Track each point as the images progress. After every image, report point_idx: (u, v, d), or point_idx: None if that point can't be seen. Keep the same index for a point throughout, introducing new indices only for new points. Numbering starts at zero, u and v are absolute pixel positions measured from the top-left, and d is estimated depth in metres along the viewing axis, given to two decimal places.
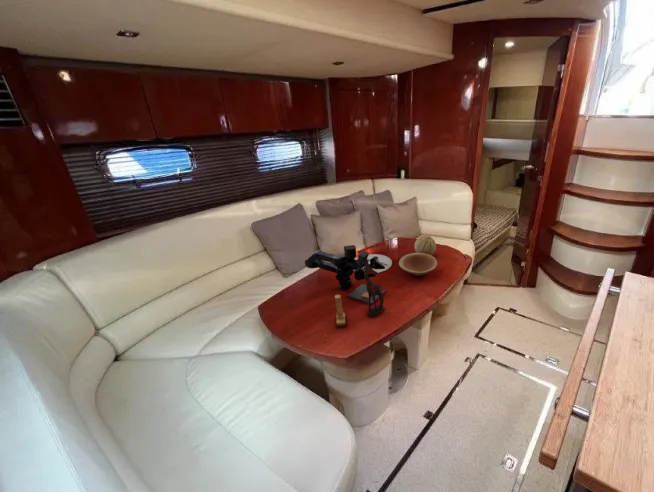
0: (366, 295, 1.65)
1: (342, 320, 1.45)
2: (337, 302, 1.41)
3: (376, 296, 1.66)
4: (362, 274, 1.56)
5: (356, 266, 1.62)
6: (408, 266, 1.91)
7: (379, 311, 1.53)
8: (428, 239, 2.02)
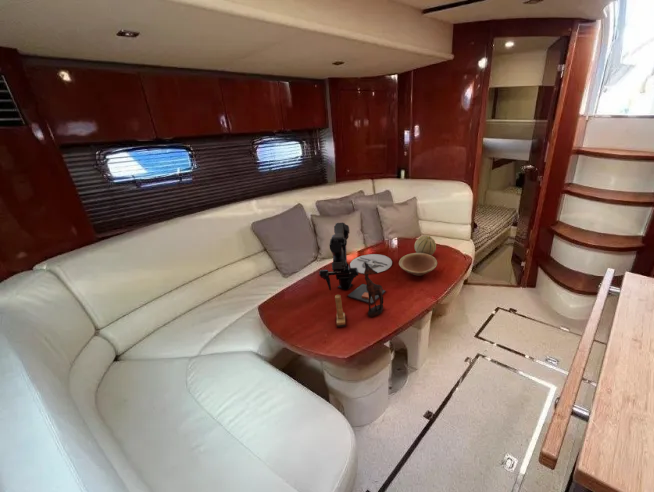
0: (366, 295, 1.65)
1: (342, 320, 1.45)
2: (337, 302, 1.41)
3: (376, 296, 1.66)
4: (325, 277, 1.50)
5: None
6: (408, 266, 1.91)
7: (379, 311, 1.53)
8: (428, 239, 2.02)
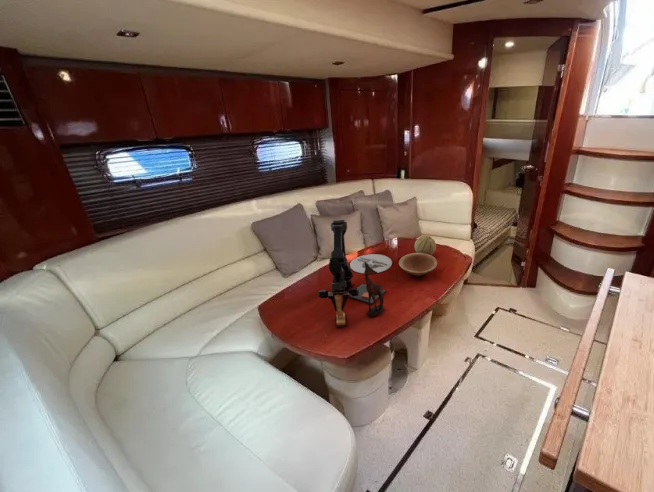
0: (366, 295, 1.65)
1: (342, 320, 1.45)
2: (337, 302, 1.41)
3: (376, 296, 1.66)
4: None
5: None
6: (408, 266, 1.91)
7: (379, 311, 1.53)
8: (428, 239, 2.02)
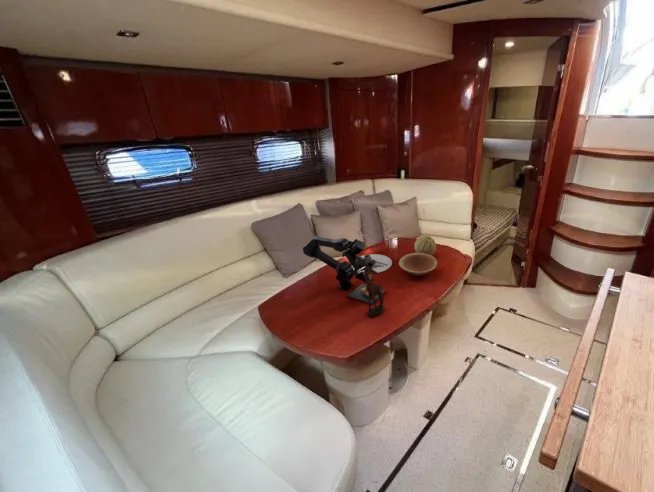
0: None
1: None
2: (370, 274, 1.61)
3: (376, 296, 1.66)
4: (358, 275, 1.61)
5: (353, 263, 1.62)
6: (408, 266, 1.91)
7: (379, 311, 1.53)
8: (428, 239, 2.02)
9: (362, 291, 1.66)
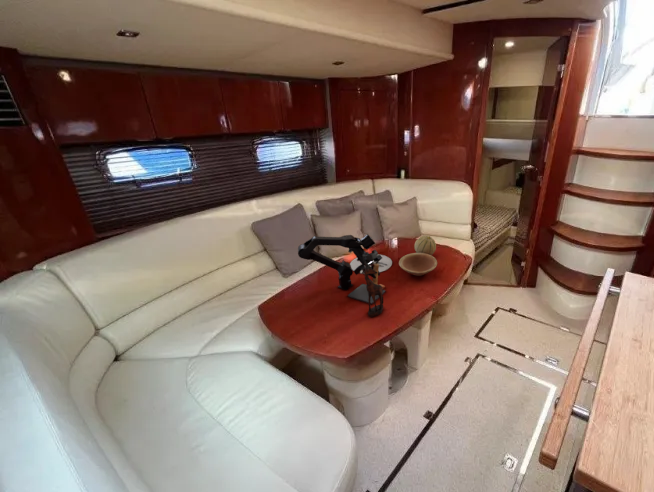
0: None
1: None
2: (376, 269, 1.66)
3: (376, 296, 1.66)
4: None
5: (360, 258, 1.67)
6: (408, 266, 1.91)
7: (379, 311, 1.53)
8: (428, 239, 2.02)
9: None
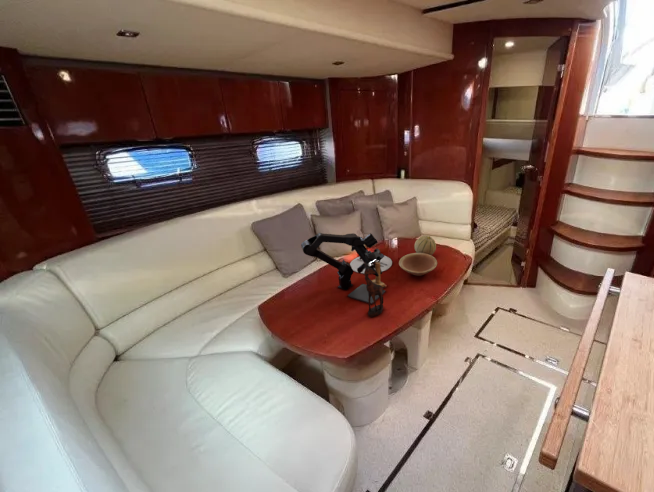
0: None
1: (381, 283, 1.72)
2: (378, 268, 1.68)
3: (376, 296, 1.66)
4: None
5: (363, 257, 1.69)
6: (408, 266, 1.91)
7: (379, 311, 1.53)
8: (428, 239, 2.02)
9: None
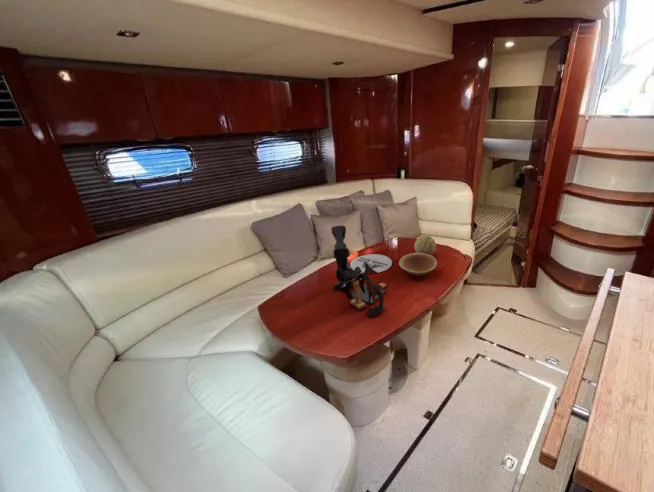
0: (381, 285, 1.75)
1: (361, 303, 1.57)
2: (357, 287, 1.53)
3: (376, 296, 1.66)
4: (342, 289, 1.52)
5: (343, 274, 1.54)
6: (408, 266, 1.91)
7: (379, 311, 1.53)
8: (428, 239, 2.02)
9: (352, 303, 1.59)
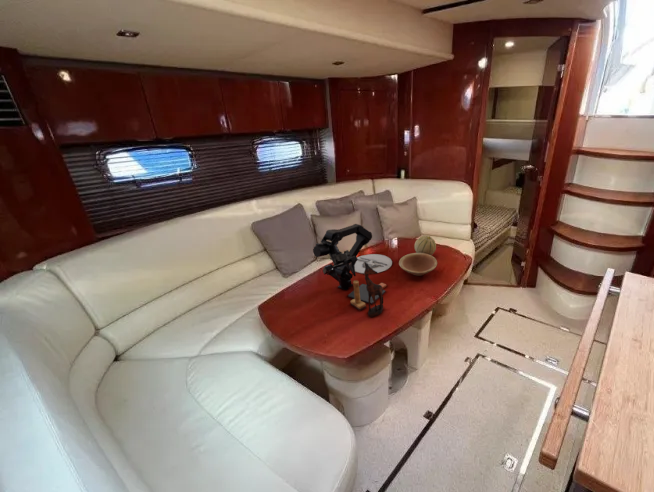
0: (381, 285, 1.75)
1: (361, 303, 1.57)
2: (357, 287, 1.53)
3: (376, 296, 1.66)
4: (330, 272, 1.55)
5: (332, 257, 1.58)
6: (408, 266, 1.91)
7: (379, 311, 1.53)
8: (428, 239, 2.02)
9: (352, 303, 1.59)
